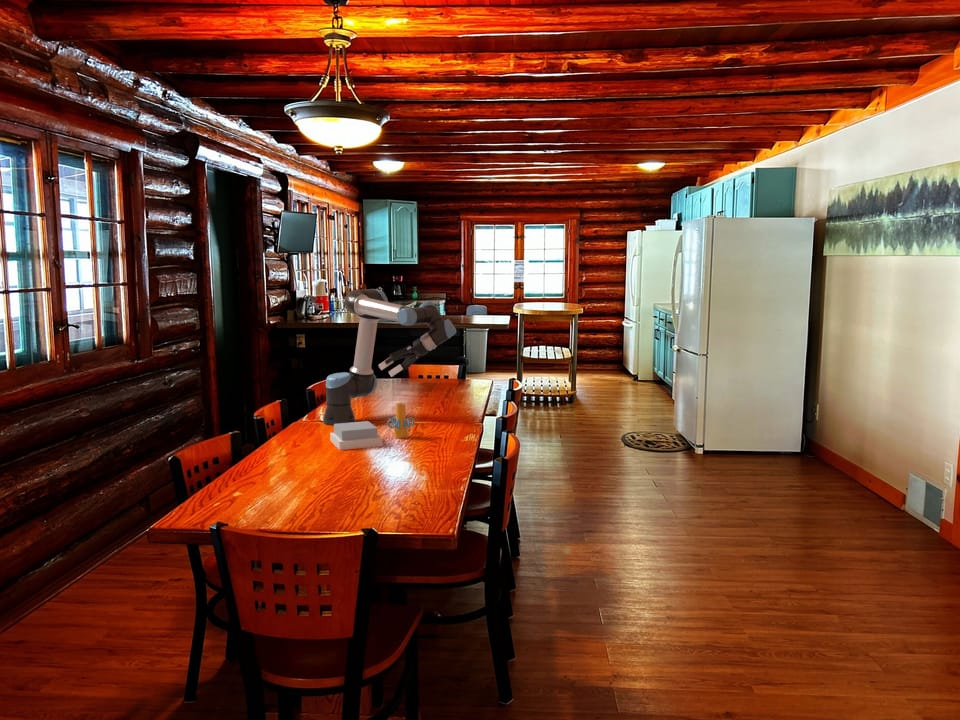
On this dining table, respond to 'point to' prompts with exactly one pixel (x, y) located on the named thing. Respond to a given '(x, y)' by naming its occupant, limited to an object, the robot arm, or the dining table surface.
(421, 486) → the dining table surface
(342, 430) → the tower top
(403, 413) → the yellow post with rings
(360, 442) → the tower base
